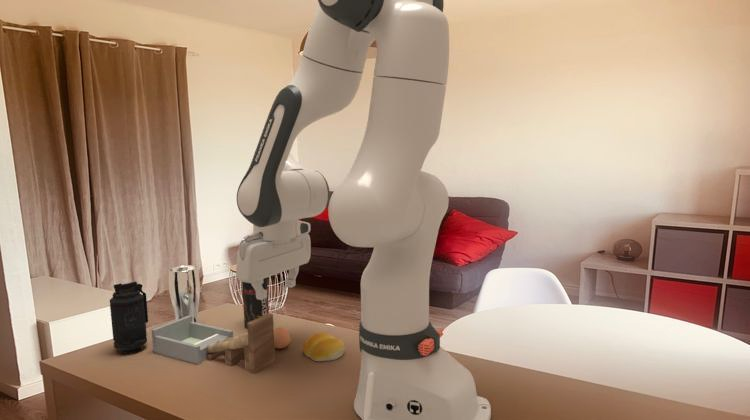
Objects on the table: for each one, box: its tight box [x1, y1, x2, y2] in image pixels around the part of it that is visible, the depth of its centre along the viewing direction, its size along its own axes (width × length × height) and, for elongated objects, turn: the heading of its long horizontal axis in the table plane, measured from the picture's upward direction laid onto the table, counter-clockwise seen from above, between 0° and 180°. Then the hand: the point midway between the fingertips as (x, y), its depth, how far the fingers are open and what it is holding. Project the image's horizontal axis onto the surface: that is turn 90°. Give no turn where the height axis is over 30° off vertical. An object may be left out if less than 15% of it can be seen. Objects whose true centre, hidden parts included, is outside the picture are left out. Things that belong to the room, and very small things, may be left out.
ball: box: [274, 327, 291, 350], centre depth 107 cm, size 4×4×4 cm
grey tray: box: [151, 315, 234, 365], centre depth 107 cm, size 14×10×5 cm
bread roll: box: [301, 332, 345, 362], centre depth 104 cm, size 8×9×4 cm
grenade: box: [109, 281, 149, 354], centre depth 108 cm, size 7×7×15 cm
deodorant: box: [241, 277, 270, 330], centre depth 120 cm, size 6×6×15 cm
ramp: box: [206, 312, 276, 374], centre depth 101 cm, size 14×6×10 cm, turn 61°
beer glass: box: [168, 264, 201, 324], centre depth 119 cm, size 7×7×15 cm
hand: (276, 292), depth 106 cm, fingers open, 8 cm apart
